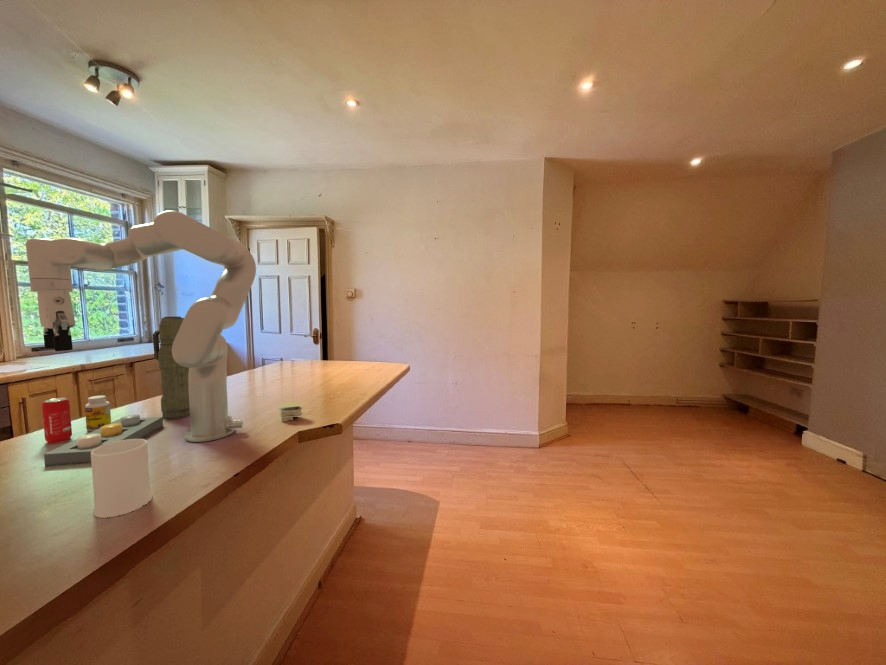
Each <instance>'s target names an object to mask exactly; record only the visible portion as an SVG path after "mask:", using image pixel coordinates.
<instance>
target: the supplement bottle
mask: <svg viewBox="0 0 886 665" xmlns="http://www.w3.org/2000/svg"><path fill="white" fill-rule="evenodd" d="M87 400H88V401H87V402H88V403H86V404H85V406H84V412H85V425H86V431H87V432H93V431H95V430H97V429H99V428H101V427H102V426H105V425H108V424H110V423H112V416H111V403H110V402H109V401H107V397H106V395H95V396H90V397H88V398H87Z"/></svg>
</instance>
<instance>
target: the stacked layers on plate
mask: <svg viewBox="0 0 886 665" xmlns="http://www.w3.org/2000/svg"><path fill="white" fill-rule="evenodd" d="M302 405H303V404H302V403H300V402H298V401H293V402H292V401H291V402H285V403H280V404H278V406H279V412H280V413H279V418H280V421H281V422H282V421H285V422H288V421H287V420H292V421H294V418H293V417H301V416H303V413H302V410H303V407H302Z"/></svg>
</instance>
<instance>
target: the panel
mask: <svg viewBox="0 0 886 665" xmlns="http://www.w3.org/2000/svg"><path fill="white" fill-rule="evenodd" d="M115 423H121V421H120V418H119V419H116V420H115V421H111V423H110V424H115ZM108 425H109V424H108ZM162 427H164V419H163V417H162V416H155V417H154V416H153V417H140V423H139V424H138V425H136V426H122V433H121V434H119V435H117V436H104V437H101V441H102V444H100V445H98V446H96V447H94V448H80V449H78V448H77V438H76V439H73V440H71V441H70V442H67V443H65V444H63V445H61V446H59V447H57V448H55V449H54V448H53V449H52V450H51V451H48V452H46V453H44V454H43V458H44V459H43V460H44V461H43V462H44V467H51V466H65V465H80V464H91V451H92V450H94V449H95V448H97V447H100V446H102V445H105V444H108V443H112V442H116V441H121V440H127V439H144V438H145V437H147V436H149V435H150V434H153V433H154V432H156V431H157V430H159V429H160V428H162ZM89 434H101V430H100V428H99V429H97V430H95V431H89V433H86V434H85V435H89Z"/></svg>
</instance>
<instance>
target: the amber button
mask: <svg viewBox="0 0 886 665" xmlns="http://www.w3.org/2000/svg"><path fill="white" fill-rule="evenodd" d="M100 430H101V437H104V436H117V435H119V434H121V433H122V424H121V423H115V424H109V425H105V426H102V427H101V428H100Z"/></svg>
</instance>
